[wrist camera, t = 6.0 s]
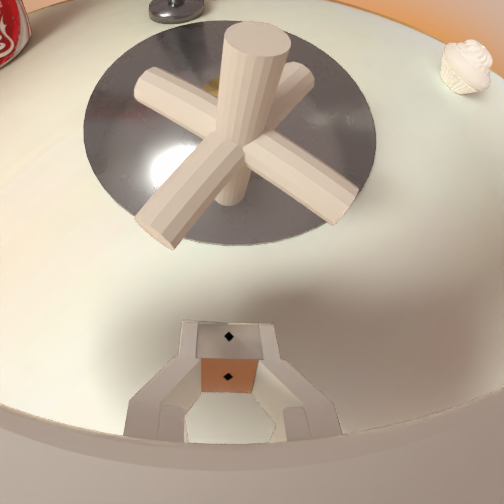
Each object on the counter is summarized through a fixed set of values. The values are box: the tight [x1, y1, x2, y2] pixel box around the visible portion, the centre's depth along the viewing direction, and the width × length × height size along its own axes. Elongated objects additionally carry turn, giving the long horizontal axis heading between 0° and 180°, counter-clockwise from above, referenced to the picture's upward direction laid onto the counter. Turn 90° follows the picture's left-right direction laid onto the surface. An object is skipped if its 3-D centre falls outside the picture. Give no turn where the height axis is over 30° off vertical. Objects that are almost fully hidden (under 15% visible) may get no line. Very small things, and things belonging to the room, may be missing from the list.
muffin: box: [440, 39, 493, 95], centre depth 21 cm, size 6×6×7 cm
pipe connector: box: [134, 21, 359, 250], centre depth 12 cm, size 10×10×10 cm
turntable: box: [84, 21, 376, 246], centre depth 18 cm, size 20×20×1 cm
